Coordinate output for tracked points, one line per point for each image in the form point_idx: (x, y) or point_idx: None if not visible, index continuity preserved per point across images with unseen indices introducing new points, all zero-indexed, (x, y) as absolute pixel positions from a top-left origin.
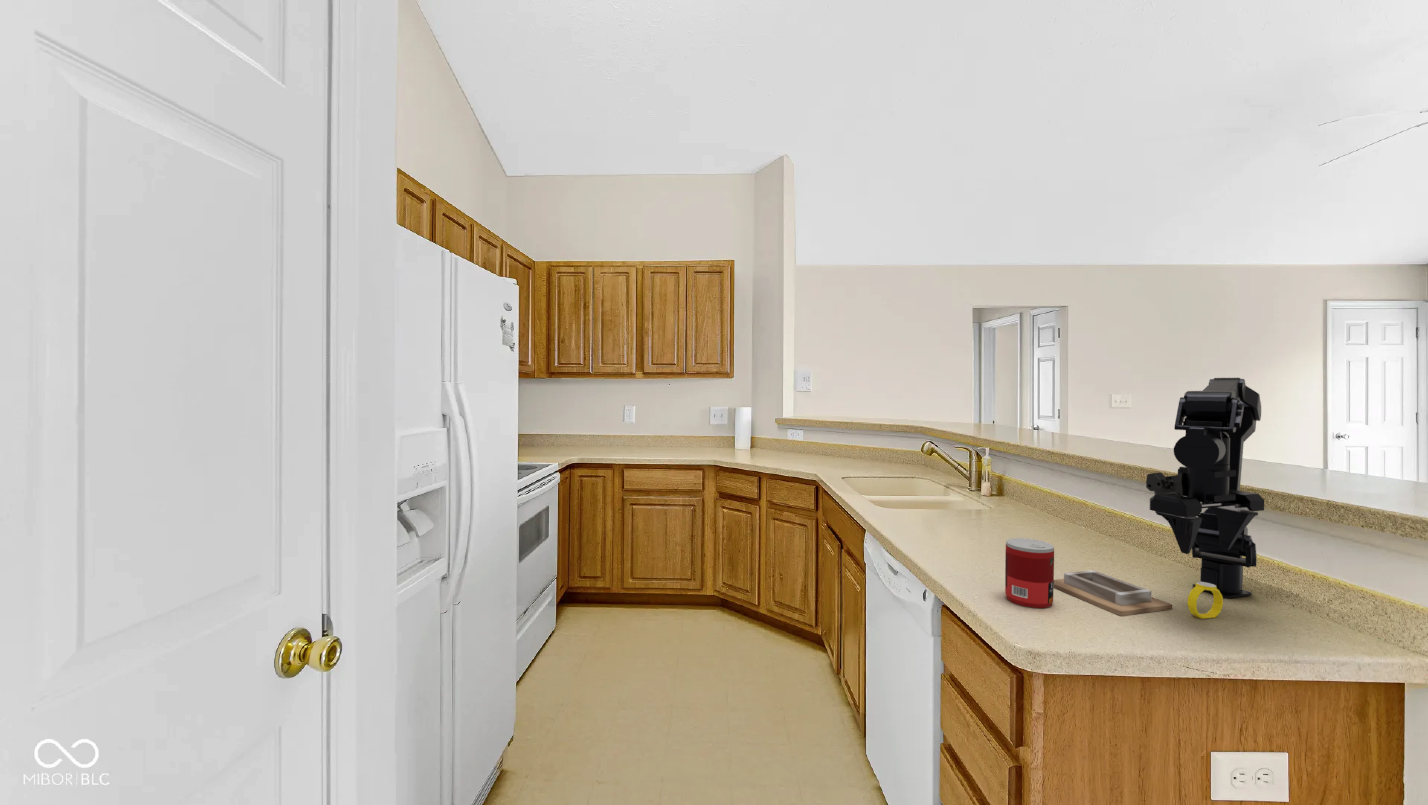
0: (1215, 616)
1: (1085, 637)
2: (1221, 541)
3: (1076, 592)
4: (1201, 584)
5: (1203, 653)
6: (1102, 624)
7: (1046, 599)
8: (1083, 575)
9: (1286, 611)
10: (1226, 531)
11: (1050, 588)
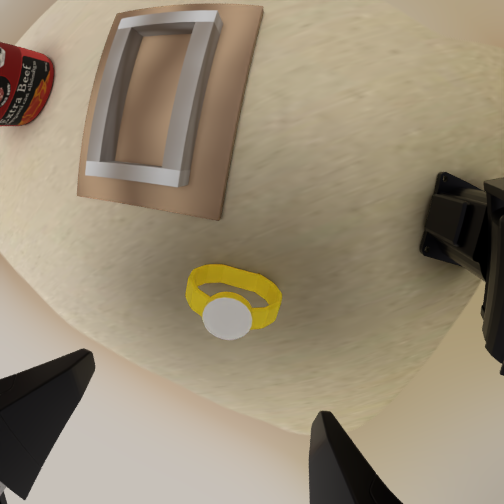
0: (255, 292)
1: (5, 227)
2: (321, 436)
3: (97, 82)
4: (209, 314)
5: (85, 330)
6: (39, 207)
7: (14, 125)
8: (166, 26)
9: (421, 332)
10: (324, 489)
11: (4, 124)
